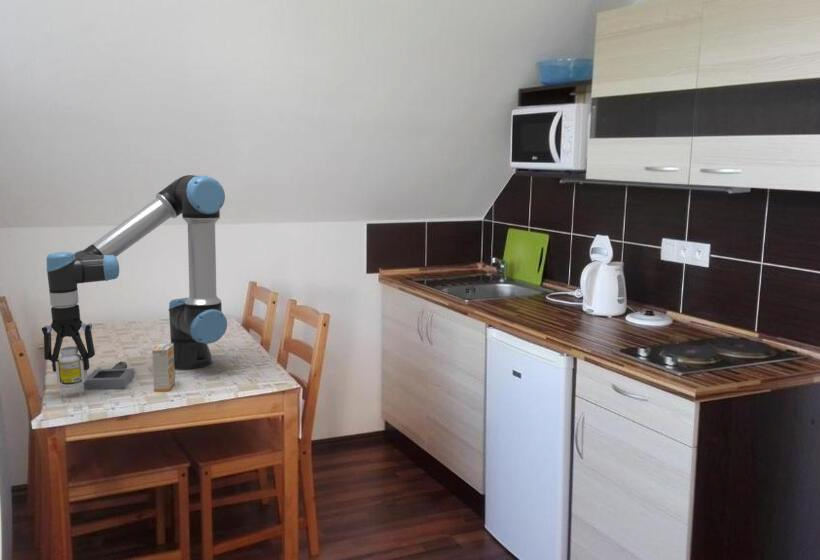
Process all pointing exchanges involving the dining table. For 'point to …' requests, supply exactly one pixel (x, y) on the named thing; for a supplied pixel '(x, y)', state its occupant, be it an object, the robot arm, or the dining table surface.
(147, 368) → the dining table surface
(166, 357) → the supplement box
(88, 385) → the low gray tray
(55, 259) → the robot arm
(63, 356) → the pill bottle
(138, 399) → the dining table surface
